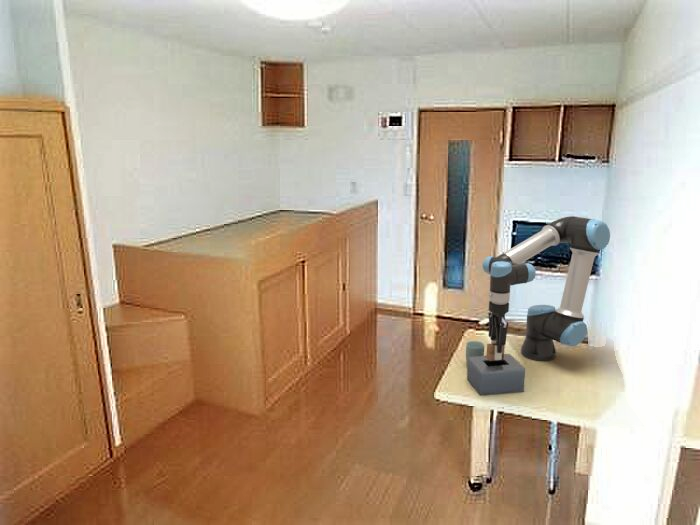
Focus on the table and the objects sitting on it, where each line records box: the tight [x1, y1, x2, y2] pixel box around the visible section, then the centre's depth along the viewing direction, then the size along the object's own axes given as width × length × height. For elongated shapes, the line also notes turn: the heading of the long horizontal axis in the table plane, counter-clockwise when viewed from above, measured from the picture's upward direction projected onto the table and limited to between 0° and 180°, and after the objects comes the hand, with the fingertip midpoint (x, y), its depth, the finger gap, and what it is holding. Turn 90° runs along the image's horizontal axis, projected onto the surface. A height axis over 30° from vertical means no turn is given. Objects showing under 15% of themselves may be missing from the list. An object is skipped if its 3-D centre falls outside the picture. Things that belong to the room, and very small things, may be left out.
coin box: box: [466, 353, 526, 397], centre depth 207 cm, size 18×14×10 cm
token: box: [485, 343, 506, 361], centre depth 205 cm, size 6×3×6 cm, turn 98°
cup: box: [465, 340, 485, 365], centre depth 225 cm, size 8×8×10 cm
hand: (495, 357), depth 205 cm, fingers closed on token, 3 cm apart
